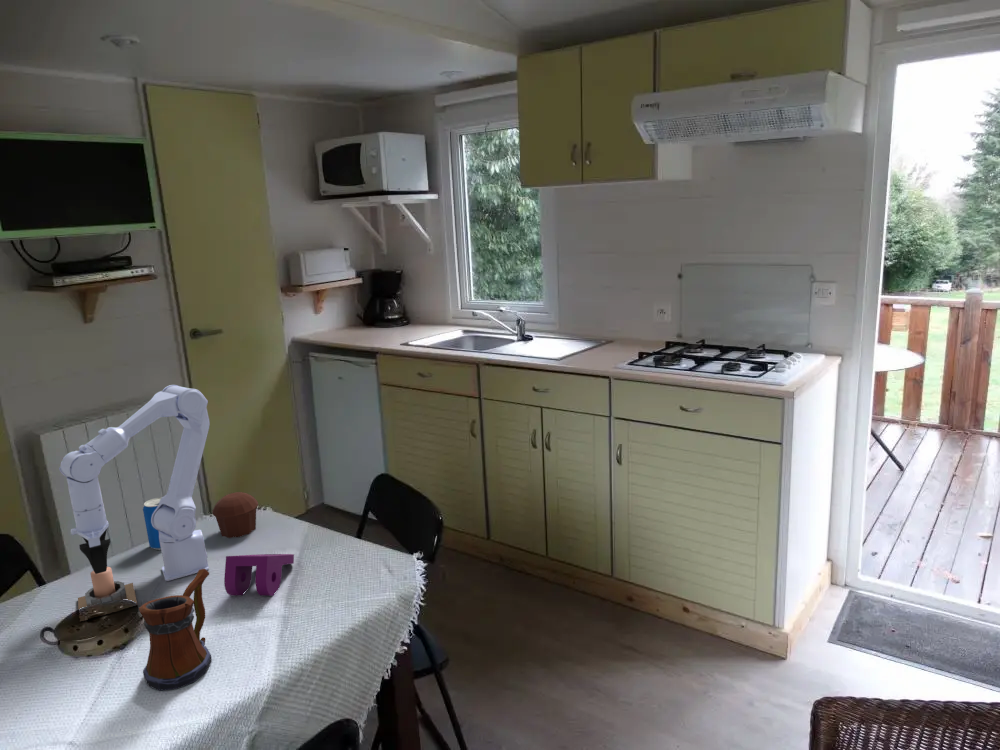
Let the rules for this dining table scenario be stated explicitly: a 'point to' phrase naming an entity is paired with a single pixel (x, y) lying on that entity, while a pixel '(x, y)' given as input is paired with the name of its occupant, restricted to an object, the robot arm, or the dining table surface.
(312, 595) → the dining table surface
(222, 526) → the muffin
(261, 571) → the mounting bracket
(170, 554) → the robot arm
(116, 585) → the cup bracket
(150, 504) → the beverage can
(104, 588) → the rail post
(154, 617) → the mug
